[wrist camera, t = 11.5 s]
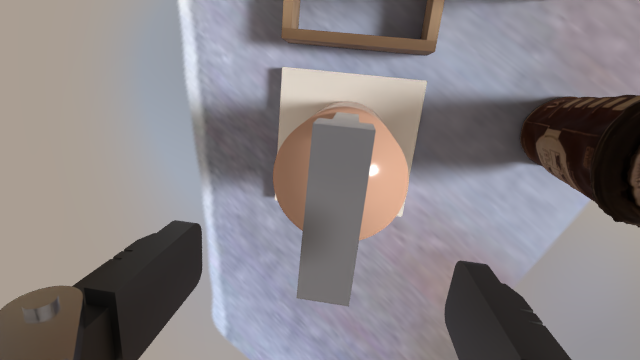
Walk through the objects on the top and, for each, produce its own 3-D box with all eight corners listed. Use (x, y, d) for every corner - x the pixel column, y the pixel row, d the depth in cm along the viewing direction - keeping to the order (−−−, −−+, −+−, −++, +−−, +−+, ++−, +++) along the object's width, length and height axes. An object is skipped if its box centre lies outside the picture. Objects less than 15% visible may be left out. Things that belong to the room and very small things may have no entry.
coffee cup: (557, 195, 30) (695, 269, 18) (486, 150, 30) (578, 194, 18) (629, 117, 28) (849, 141, 15) (553, 66, 27) (716, 49, 15)
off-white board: (285, 67, 30) (282, 66, 29) (424, 81, 29) (427, 80, 28) (277, 196, 34) (274, 200, 32) (400, 212, 33) (401, 216, 31)
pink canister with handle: (307, 96, 29) (241, 114, 12) (394, 106, 29) (451, 139, 12) (300, 178, 32) (237, 288, 15) (380, 189, 31) (411, 316, 14)
